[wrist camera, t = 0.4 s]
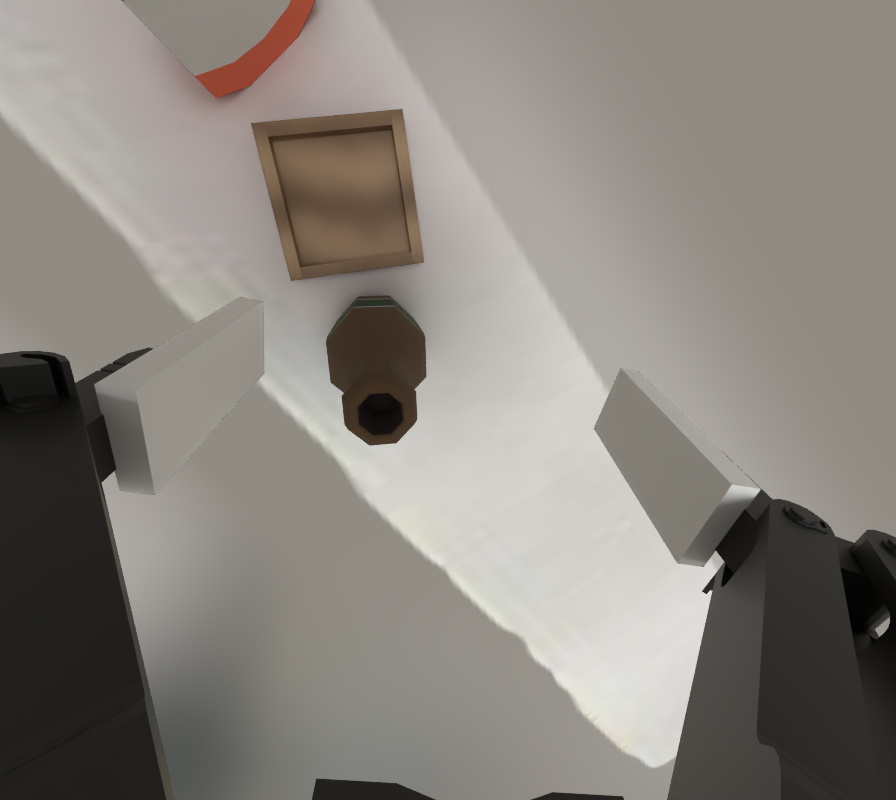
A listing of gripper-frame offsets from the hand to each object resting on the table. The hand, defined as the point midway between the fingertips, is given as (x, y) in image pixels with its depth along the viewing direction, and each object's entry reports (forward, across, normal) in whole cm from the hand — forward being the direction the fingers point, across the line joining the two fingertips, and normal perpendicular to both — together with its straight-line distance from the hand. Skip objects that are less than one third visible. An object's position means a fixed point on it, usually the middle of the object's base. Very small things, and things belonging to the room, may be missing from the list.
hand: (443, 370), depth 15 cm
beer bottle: (+26, -5, -9) cm, 28 cm away
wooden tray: (+28, -9, +2) cm, 29 cm away
